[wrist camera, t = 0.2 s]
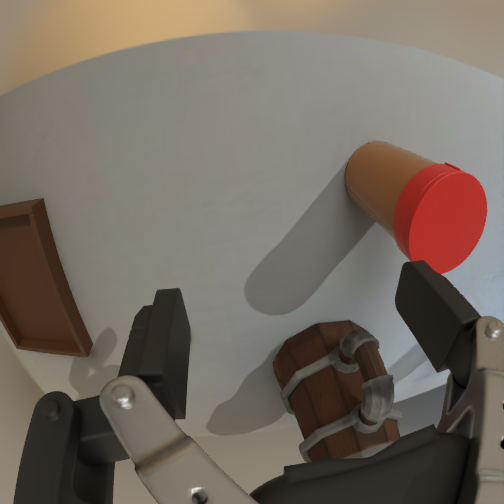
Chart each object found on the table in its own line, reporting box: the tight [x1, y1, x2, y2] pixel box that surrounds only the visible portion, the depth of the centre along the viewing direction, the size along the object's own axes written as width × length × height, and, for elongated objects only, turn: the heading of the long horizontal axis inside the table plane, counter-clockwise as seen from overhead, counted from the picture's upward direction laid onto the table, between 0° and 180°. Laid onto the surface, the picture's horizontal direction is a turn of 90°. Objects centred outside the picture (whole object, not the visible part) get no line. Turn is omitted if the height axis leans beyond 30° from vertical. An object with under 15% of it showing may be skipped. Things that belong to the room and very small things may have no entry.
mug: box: [273, 320, 402, 462], centre depth 25 cm, size 16×12×15 cm
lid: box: [393, 163, 487, 274], centre depth 15 cm, size 6×6×2 cm
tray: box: [0, 198, 93, 357], centre depth 23 cm, size 17×11×2 cm, turn 0°
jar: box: [345, 141, 438, 241], centre depth 19 cm, size 6×6×10 cm
